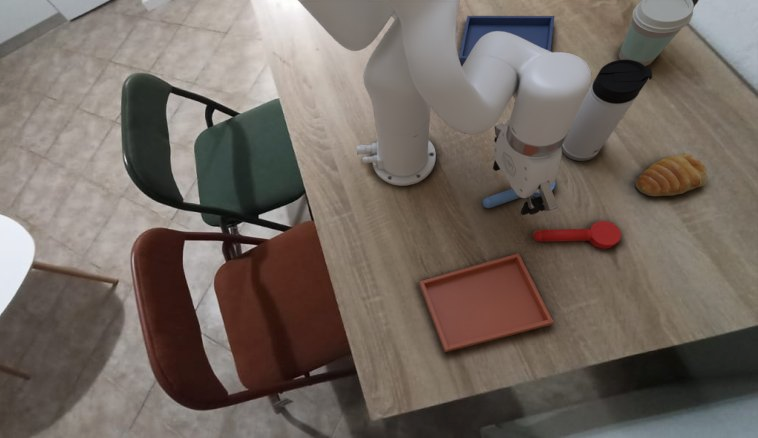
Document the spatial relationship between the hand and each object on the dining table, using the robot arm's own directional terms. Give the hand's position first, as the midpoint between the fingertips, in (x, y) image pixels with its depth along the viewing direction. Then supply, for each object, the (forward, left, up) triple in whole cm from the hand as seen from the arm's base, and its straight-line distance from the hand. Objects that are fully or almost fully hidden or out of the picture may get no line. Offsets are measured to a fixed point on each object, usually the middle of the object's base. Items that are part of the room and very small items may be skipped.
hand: (515, 188), depth 77 cm
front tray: (-7, -20, -5) cm, 21 cm away
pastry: (+25, +2, -5) cm, 26 cm away
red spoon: (+9, -8, -5) cm, 13 cm away
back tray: (+3, +37, -5) cm, 38 cm away
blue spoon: (+1, +1, -5) cm, 5 cm away
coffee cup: (+26, +30, -5) cm, 40 cm away
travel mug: (+13, +10, -5) cm, 17 cm away
